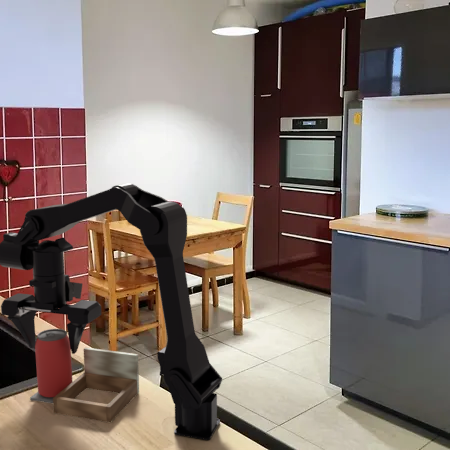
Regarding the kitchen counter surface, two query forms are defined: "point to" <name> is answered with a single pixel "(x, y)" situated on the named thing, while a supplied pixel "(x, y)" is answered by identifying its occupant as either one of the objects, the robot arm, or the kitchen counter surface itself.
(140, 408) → the kitchen counter surface
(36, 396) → the plate
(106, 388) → the drawer
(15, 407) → the kitchen counter surface
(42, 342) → the beer can
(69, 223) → the robot arm
